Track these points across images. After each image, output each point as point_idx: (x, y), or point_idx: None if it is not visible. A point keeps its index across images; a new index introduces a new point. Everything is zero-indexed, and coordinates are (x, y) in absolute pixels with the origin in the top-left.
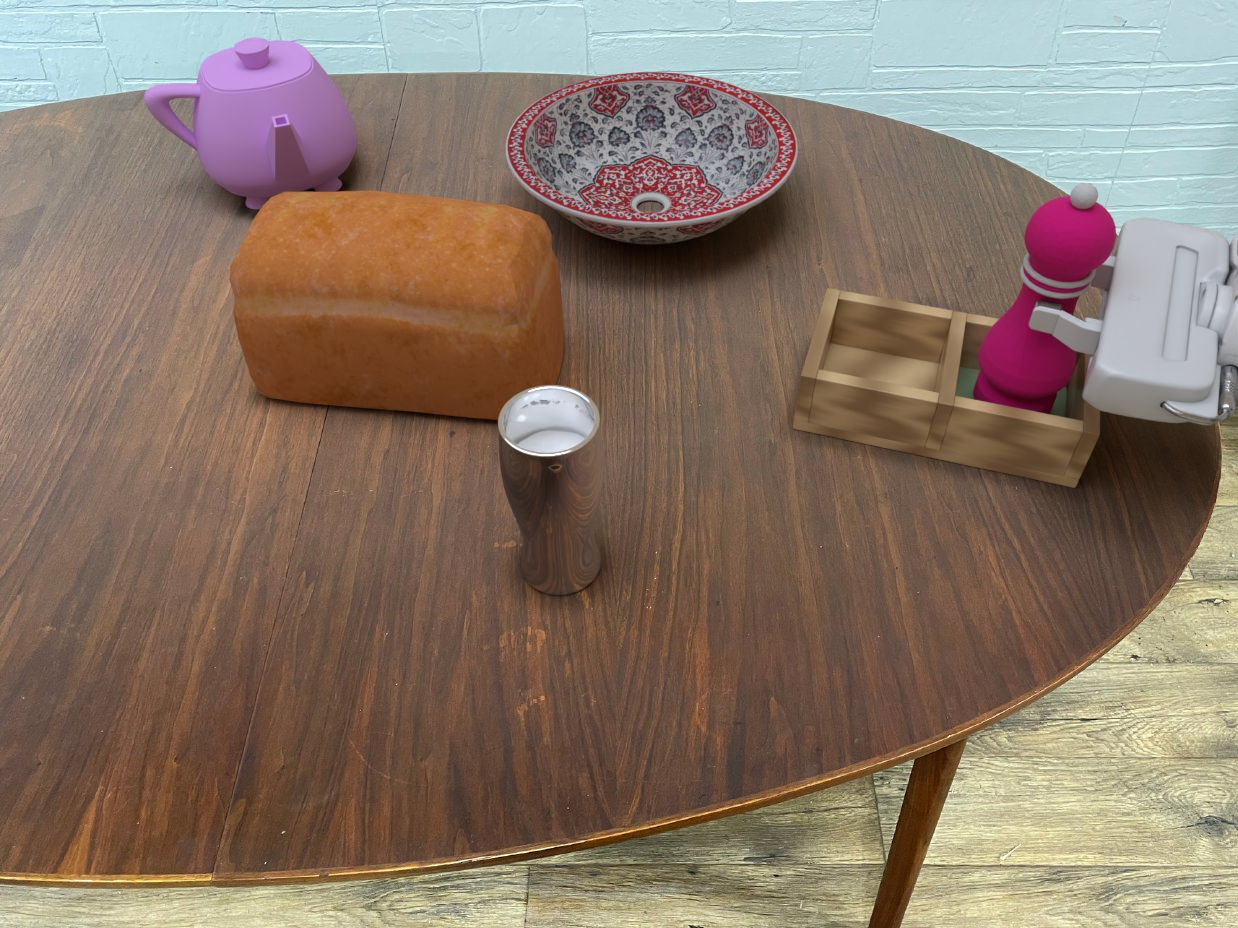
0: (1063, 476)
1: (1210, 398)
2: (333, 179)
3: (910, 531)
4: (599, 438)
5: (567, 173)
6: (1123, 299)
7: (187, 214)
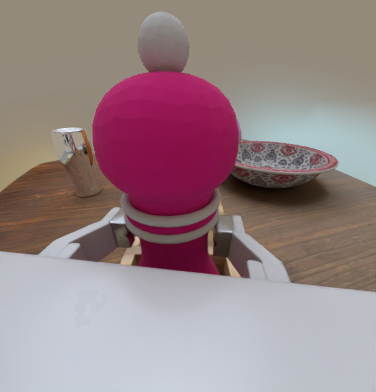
0: None
1: None
2: None
3: None
4: (61, 137)
5: (254, 161)
6: (87, 280)
7: None
